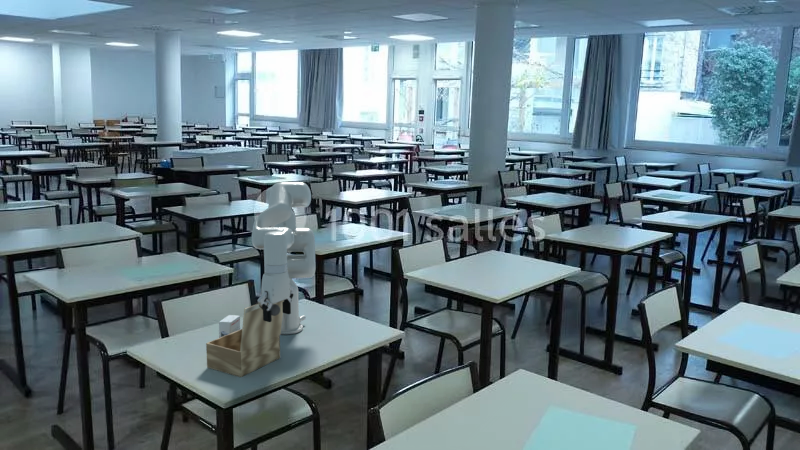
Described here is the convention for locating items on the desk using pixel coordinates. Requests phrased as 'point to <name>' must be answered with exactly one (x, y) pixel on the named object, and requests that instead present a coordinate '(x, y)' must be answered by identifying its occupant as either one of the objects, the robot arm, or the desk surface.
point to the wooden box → (240, 354)
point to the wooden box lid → (260, 325)
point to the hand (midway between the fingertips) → (277, 317)
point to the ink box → (229, 325)
